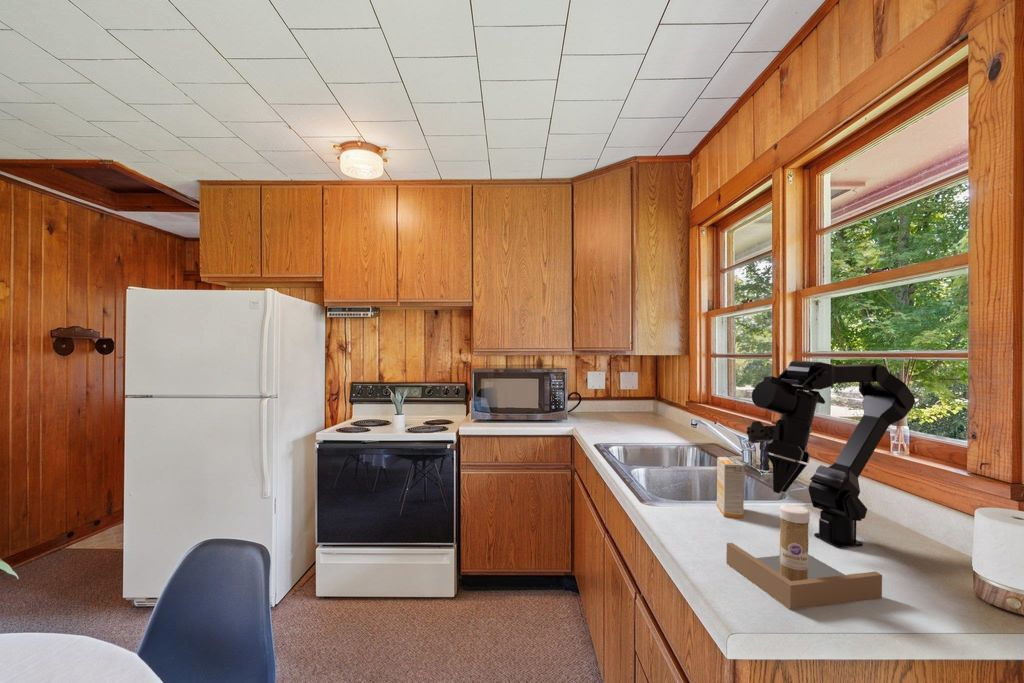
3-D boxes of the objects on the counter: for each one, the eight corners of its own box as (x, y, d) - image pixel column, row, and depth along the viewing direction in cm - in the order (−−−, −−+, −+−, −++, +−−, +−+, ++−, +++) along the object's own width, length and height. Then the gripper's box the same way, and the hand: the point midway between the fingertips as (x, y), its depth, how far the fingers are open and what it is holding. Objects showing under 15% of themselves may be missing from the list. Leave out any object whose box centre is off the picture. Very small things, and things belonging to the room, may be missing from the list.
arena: (805, 555, 98) (805, 535, 98) (881, 598, 82) (882, 574, 82) (726, 563, 94) (726, 543, 94) (790, 609, 78) (790, 585, 78)
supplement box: (744, 518, 117) (745, 465, 117) (723, 517, 118) (724, 464, 118) (735, 506, 125) (736, 457, 125) (716, 505, 126) (716, 455, 126)
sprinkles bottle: (785, 589, 83) (785, 511, 83) (774, 576, 88) (775, 502, 88) (813, 591, 82) (814, 513, 82) (801, 578, 87) (802, 504, 87)
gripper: (762, 413, 113) (746, 478, 112) (746, 404, 98) (728, 478, 97) (817, 426, 106) (801, 496, 105) (809, 418, 91) (790, 499, 90)
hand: (779, 492), depth 99 cm, fingers open, 9 cm apart
